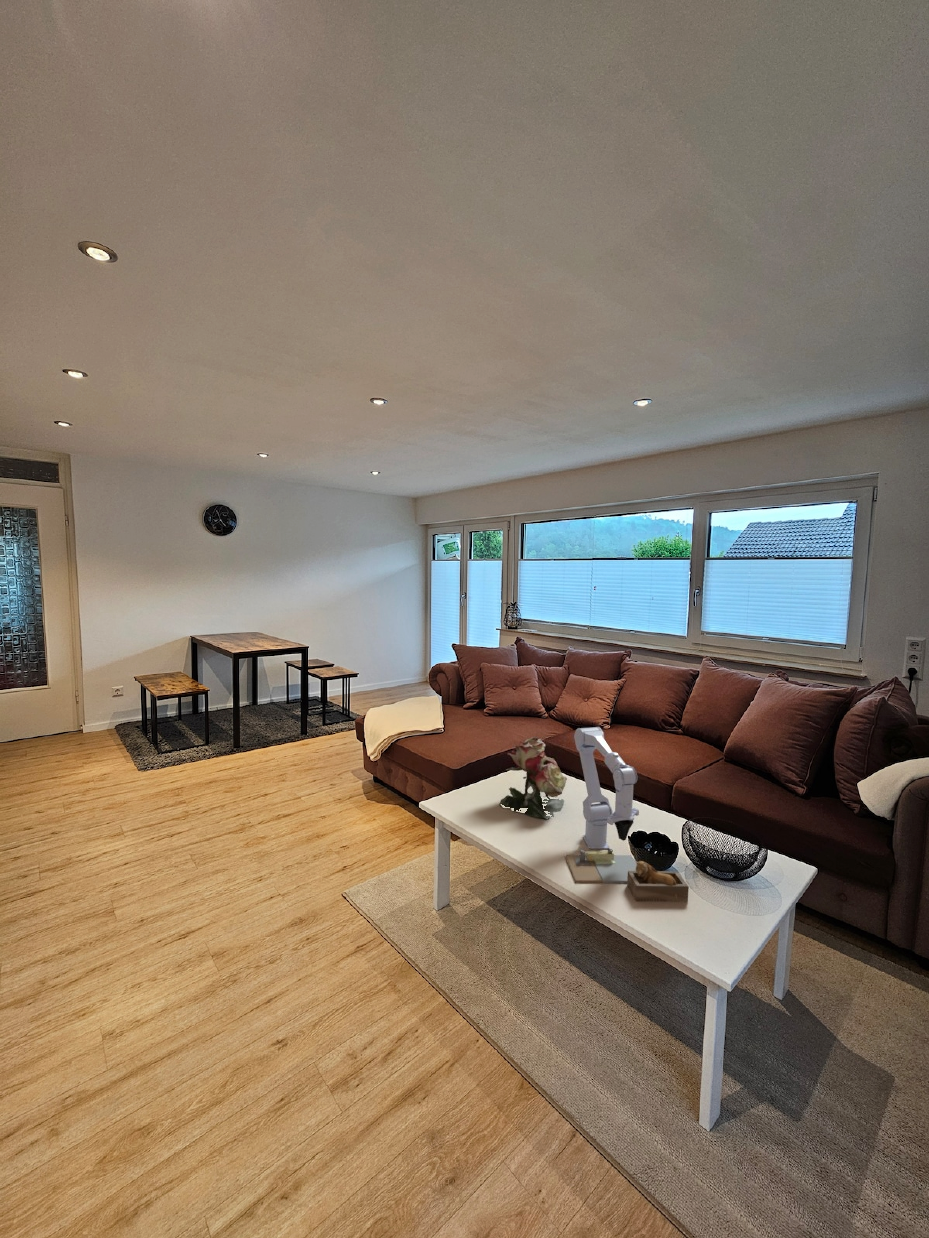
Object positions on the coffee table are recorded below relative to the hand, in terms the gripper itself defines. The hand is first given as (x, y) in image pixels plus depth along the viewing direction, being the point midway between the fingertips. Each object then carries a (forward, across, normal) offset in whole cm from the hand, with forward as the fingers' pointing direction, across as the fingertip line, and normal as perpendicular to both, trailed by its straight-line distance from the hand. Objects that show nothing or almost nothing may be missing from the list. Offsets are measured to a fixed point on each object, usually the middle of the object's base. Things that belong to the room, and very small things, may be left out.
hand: (622, 838), depth 180 cm
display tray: (+10, -3, -17) cm, 20 cm away
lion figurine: (+10, -3, -17) cm, 20 cm away
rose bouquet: (+10, +8, +54) cm, 55 cm away
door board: (+10, -7, +2) cm, 12 cm away
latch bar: (+8, -5, +5) cm, 11 cm away
